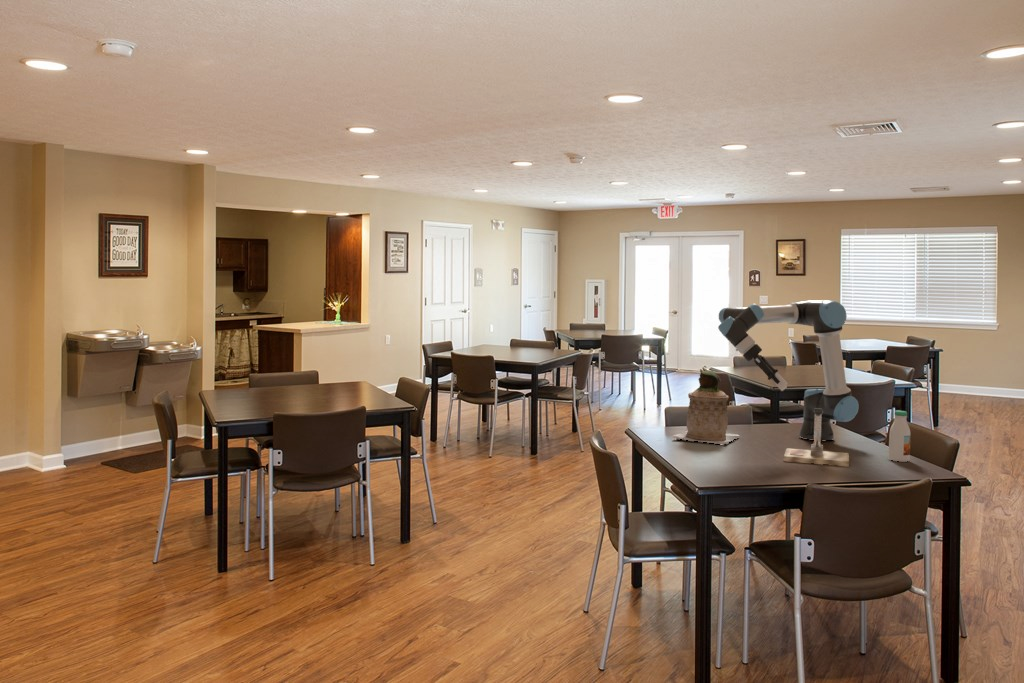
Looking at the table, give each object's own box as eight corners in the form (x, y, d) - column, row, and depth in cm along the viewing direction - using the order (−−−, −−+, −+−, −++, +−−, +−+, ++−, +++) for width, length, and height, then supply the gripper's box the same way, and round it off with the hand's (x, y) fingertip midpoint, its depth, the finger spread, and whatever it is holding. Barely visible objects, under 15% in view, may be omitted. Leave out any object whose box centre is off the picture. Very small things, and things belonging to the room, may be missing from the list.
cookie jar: (726, 446, 352) (728, 373, 350) (671, 440, 364) (673, 369, 362) (740, 438, 373) (742, 368, 371) (688, 432, 386) (690, 365, 384)
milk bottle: (896, 462, 323) (898, 412, 321) (884, 458, 330) (886, 409, 329) (913, 462, 324) (916, 412, 323) (900, 458, 332) (903, 409, 331)
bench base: (783, 461, 323) (784, 447, 323) (786, 452, 340) (786, 439, 339) (849, 466, 314) (849, 452, 314) (848, 458, 331) (848, 444, 330)
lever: (812, 453, 326) (813, 409, 325) (812, 451, 329) (814, 407, 328) (821, 454, 324) (822, 409, 323) (821, 452, 328) (823, 408, 326)
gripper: (744, 353, 350) (779, 390, 346) (739, 356, 326) (776, 396, 322) (757, 341, 348) (792, 378, 343) (754, 344, 324) (791, 384, 320)
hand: (785, 387), depth 333 cm, fingers open, 13 cm apart
